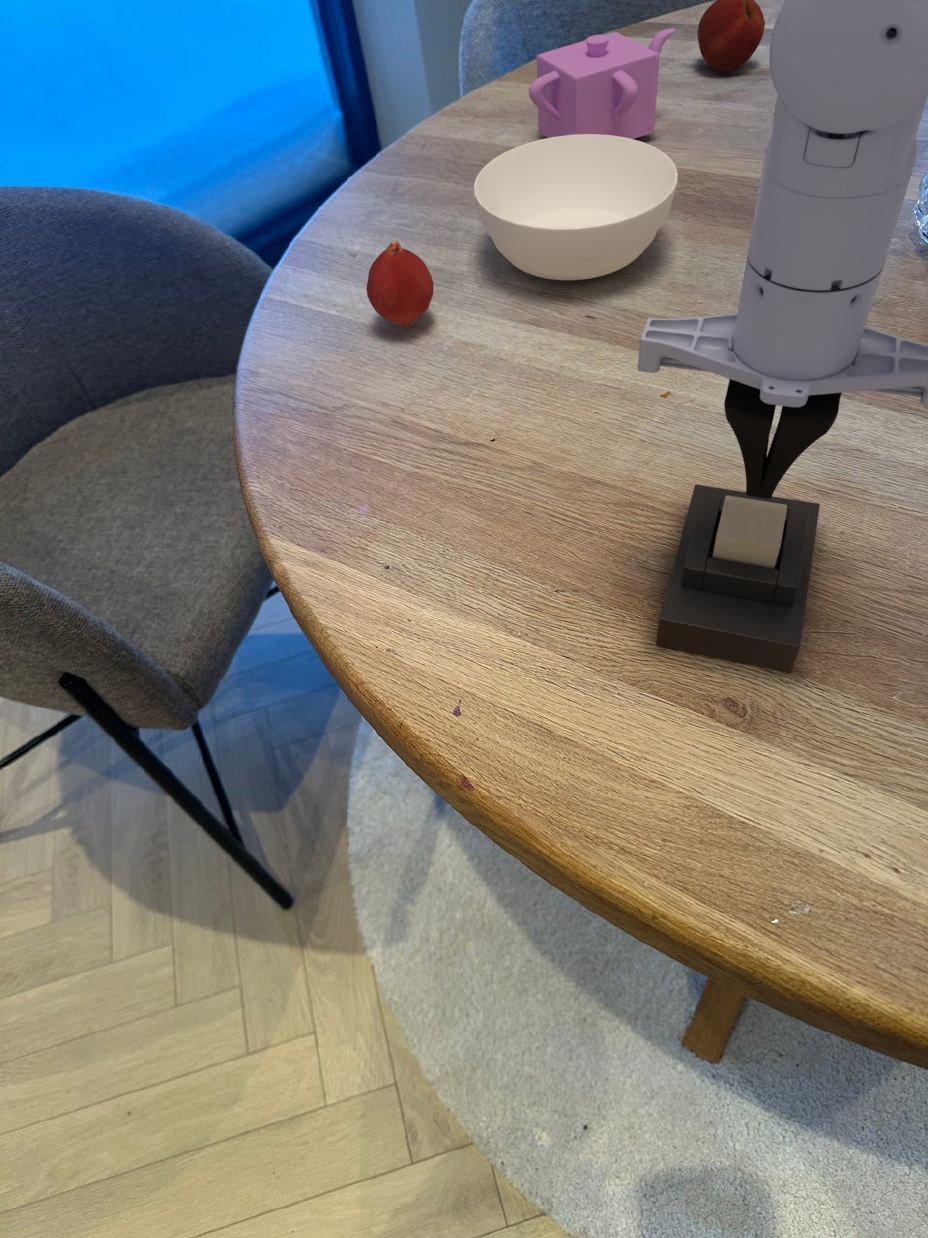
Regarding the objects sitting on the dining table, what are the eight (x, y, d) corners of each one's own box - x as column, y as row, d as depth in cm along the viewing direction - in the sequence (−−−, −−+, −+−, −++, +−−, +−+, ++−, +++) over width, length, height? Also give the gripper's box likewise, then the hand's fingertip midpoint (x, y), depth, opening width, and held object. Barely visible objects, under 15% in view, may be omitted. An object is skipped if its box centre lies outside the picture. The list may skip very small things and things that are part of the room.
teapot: (637, 98, 103) (643, -1, 95) (705, 138, 95) (718, 33, 87) (505, 140, 99) (500, 40, 91) (564, 184, 91) (564, 79, 83)
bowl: (711, 246, 80) (721, 167, 75) (576, 331, 74) (576, 252, 68) (572, 191, 90) (572, 117, 84) (441, 262, 84) (432, 187, 78)
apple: (730, 85, 103) (741, 7, 96) (679, 72, 107) (686, -4, 100) (768, 65, 105) (780, -13, 99) (717, 52, 109) (726, -23, 103)
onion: (363, 336, 77) (344, 251, 71) (395, 302, 80) (380, 218, 74) (418, 349, 75) (404, 263, 69) (449, 314, 78) (438, 228, 72)
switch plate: (690, 512, 59) (698, 463, 56) (810, 532, 57) (826, 482, 54) (655, 645, 53) (662, 599, 49) (790, 674, 50) (807, 627, 47)
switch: (721, 517, 53) (725, 494, 52) (781, 527, 52) (787, 504, 51) (712, 558, 51) (716, 536, 50) (774, 569, 50) (780, 547, 49)
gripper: (631, 290, 37) (617, 512, 48) (1000, 325, 33) (895, 560, 44) (663, 211, 41) (643, 432, 52) (996, 234, 37) (901, 469, 48)
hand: (760, 485), depth 48 cm, fingers closed
